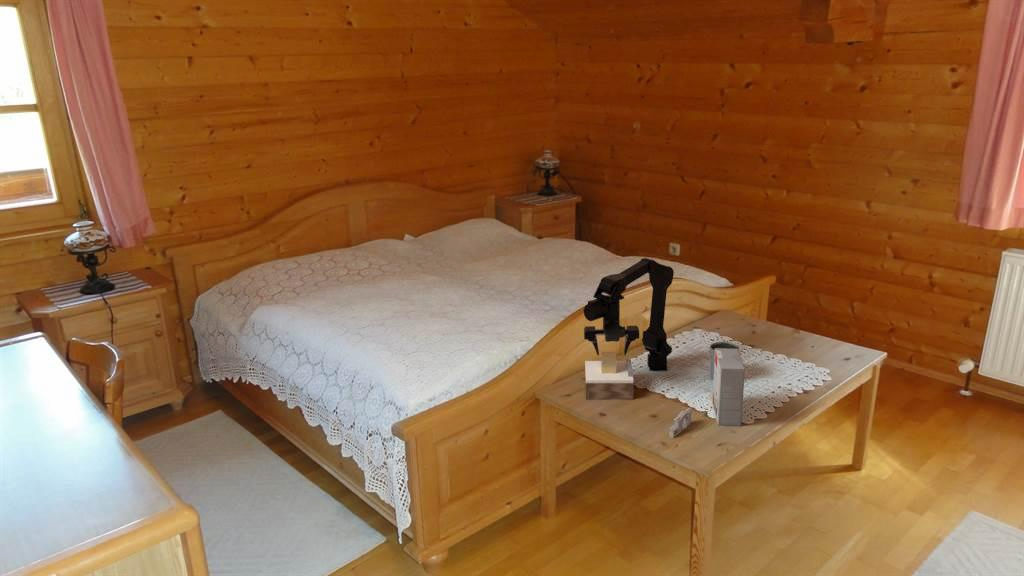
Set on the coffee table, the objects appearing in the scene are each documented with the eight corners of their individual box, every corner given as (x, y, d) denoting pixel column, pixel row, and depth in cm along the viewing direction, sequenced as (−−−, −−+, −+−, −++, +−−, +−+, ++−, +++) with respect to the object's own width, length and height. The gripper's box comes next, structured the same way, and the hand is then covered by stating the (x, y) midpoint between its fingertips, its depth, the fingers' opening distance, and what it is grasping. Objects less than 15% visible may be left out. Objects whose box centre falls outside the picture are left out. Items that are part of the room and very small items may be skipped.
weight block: (615, 367, 250) (615, 351, 248) (616, 373, 245) (616, 357, 243) (601, 367, 250) (601, 351, 249) (601, 373, 246) (601, 357, 244)
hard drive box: (711, 402, 238) (714, 347, 231) (735, 403, 236) (739, 348, 230) (716, 425, 223) (720, 367, 217) (742, 426, 222) (746, 368, 216)
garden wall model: (673, 438, 217) (673, 421, 215) (668, 437, 218) (668, 419, 216) (692, 423, 225) (693, 406, 224) (687, 421, 227) (687, 405, 225)
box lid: (630, 363, 255) (630, 355, 254) (633, 383, 240) (633, 375, 239) (585, 363, 256) (585, 355, 256) (585, 383, 241) (585, 375, 240)
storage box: (629, 378, 257) (630, 363, 255) (633, 399, 242) (633, 383, 240) (585, 378, 258) (585, 363, 257) (585, 399, 243) (585, 383, 241)
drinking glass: (711, 384, 250) (713, 353, 246) (705, 372, 260) (706, 341, 256) (740, 383, 250) (743, 352, 246) (733, 371, 259) (735, 341, 256)
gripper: (584, 322, 236) (584, 365, 241) (641, 321, 234) (640, 364, 239) (583, 310, 247) (584, 351, 252) (638, 309, 245) (637, 351, 250)
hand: (611, 355), depth 248 cm, fingers open, 9 cm apart
